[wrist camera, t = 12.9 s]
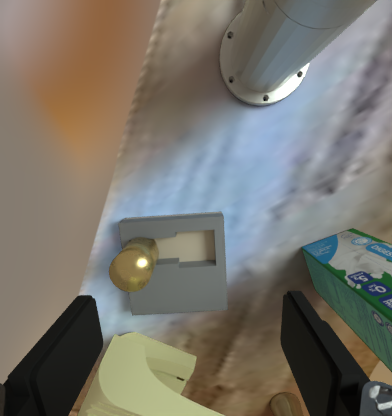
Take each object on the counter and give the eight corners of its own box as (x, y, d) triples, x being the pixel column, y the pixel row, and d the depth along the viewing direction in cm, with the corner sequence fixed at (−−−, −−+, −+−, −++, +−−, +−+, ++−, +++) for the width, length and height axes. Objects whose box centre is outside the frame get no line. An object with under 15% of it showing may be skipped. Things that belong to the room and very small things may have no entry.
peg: (128, 232, 35) (105, 255, 26) (160, 229, 35) (147, 252, 26) (133, 261, 36) (112, 293, 27) (163, 259, 36) (153, 290, 27)
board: (125, 218, 35) (118, 223, 32) (221, 211, 35) (223, 216, 32) (137, 303, 39) (132, 315, 35) (225, 297, 38) (227, 309, 35)
